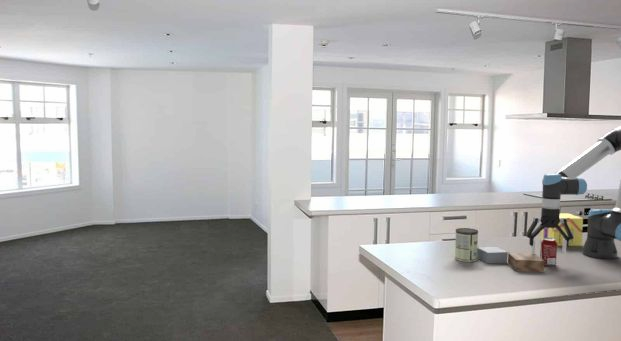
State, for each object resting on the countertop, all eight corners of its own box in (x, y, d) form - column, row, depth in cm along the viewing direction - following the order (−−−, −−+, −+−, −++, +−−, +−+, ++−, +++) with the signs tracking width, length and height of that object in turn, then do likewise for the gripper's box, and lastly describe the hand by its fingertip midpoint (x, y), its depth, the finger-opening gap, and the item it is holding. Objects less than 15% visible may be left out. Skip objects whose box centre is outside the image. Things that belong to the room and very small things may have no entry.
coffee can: (456, 255, 242) (457, 227, 241) (478, 257, 238) (479, 229, 237) (453, 260, 233) (454, 231, 232) (475, 263, 228) (476, 233, 227)
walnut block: (534, 264, 227) (535, 253, 226) (543, 272, 215) (544, 260, 214) (507, 263, 228) (508, 252, 228) (515, 270, 216) (515, 259, 216)
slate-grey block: (496, 256, 239) (496, 246, 239) (507, 262, 230) (507, 252, 229) (476, 257, 238) (477, 247, 238) (487, 263, 228) (487, 252, 228)
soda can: (557, 266, 223) (559, 240, 222) (541, 266, 224) (543, 240, 223) (553, 262, 230) (554, 237, 229) (538, 262, 231) (539, 236, 230)
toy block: (581, 245, 264) (583, 218, 263) (553, 245, 264) (554, 218, 263) (567, 239, 279) (568, 213, 278) (540, 239, 279) (542, 213, 278)
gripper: (576, 207, 227) (573, 252, 229) (519, 205, 230) (517, 250, 232) (583, 209, 219) (580, 256, 221) (524, 208, 222) (522, 254, 224)
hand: (548, 253), depth 227 cm, fingers open, 13 cm apart
